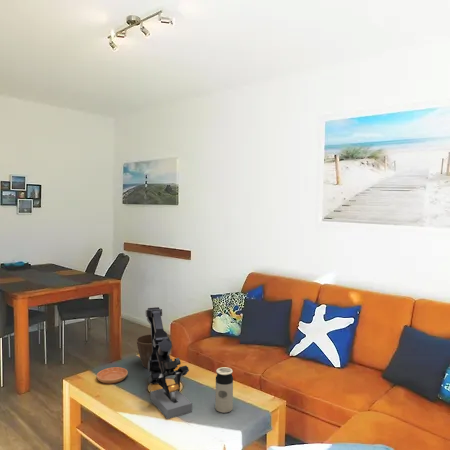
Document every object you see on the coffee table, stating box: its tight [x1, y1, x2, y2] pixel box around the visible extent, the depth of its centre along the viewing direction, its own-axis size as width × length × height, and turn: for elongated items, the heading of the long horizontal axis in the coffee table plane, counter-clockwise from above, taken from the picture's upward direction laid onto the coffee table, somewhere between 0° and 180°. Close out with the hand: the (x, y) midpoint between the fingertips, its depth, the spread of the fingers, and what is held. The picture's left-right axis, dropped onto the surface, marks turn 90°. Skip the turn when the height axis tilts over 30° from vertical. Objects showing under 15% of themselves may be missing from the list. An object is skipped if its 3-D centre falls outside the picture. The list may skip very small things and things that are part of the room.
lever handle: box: [167, 383, 179, 403], centre depth 183 cm, size 3×5×10 cm
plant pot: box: [136, 334, 152, 369], centre depth 229 cm, size 15×15×16 cm
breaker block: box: [149, 387, 193, 420], centre depth 185 cm, size 20×12×4 cm, turn 32°
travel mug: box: [214, 366, 234, 414], centre depth 183 cm, size 8×8×18 cm
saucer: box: [96, 366, 129, 385], centre depth 213 cm, size 16×16×3 cm
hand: (174, 392), depth 182 cm, fingers closed on lever handle, 5 cm apart
